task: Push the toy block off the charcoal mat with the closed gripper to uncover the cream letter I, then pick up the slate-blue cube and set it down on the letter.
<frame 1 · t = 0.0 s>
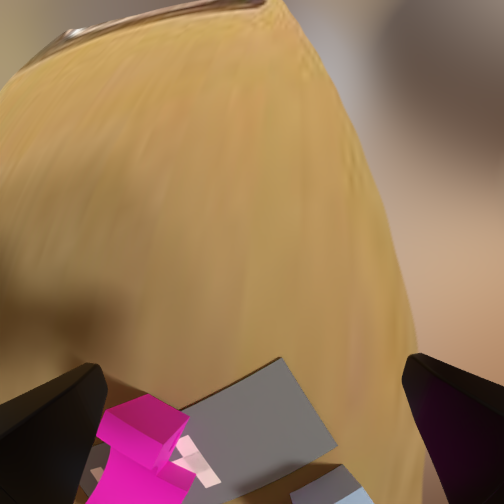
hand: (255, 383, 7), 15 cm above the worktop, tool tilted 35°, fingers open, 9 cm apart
toy block: (150, 478, 18), resting on letter mat
slate blue cube: (329, 496, 18), on the worktop
letter mat: (184, 466, 19), on the worktop
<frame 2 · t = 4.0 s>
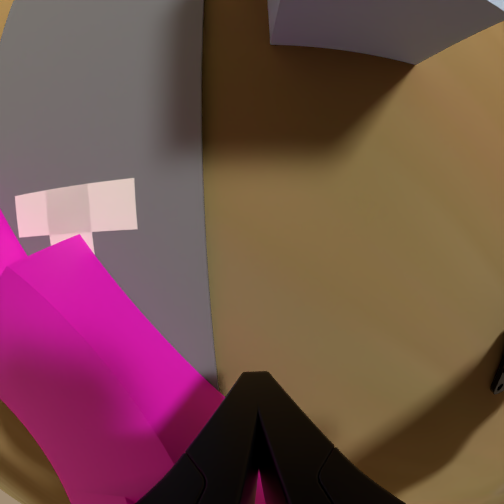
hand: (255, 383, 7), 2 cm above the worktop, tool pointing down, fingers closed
toy block: (84, 343, 9), resting on letter mat, touching gripper
letter mat: (74, 247, 8), on the worktop
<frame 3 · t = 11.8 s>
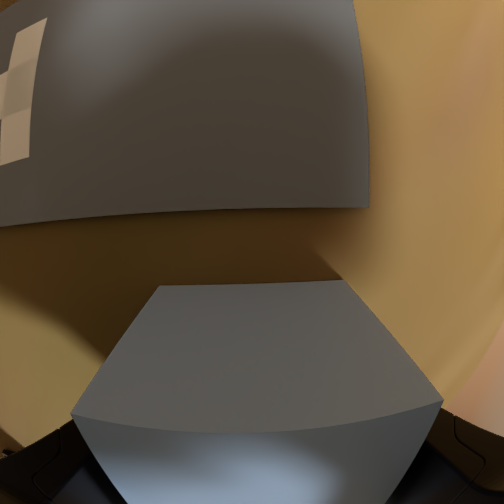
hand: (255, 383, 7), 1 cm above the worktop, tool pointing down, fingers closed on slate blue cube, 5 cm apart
slate blue cube: (254, 361, 8), on the worktop, touching gripper
when the fingers open (2 cm above the worktop, at t = 16.1 s): slate blue cube drops 1 cm, resting on letter mat.
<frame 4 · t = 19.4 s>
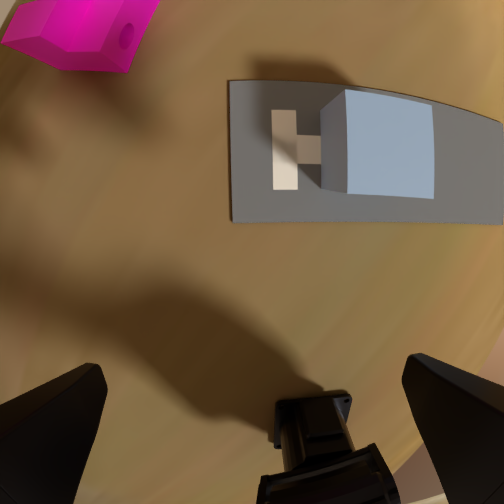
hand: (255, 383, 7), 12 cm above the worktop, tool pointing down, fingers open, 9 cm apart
slate blue cube: (358, 151, 17), resting on letter mat
letter mat: (403, 156, 17), on the worktop
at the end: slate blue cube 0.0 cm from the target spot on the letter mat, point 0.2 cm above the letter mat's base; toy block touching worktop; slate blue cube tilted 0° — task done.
